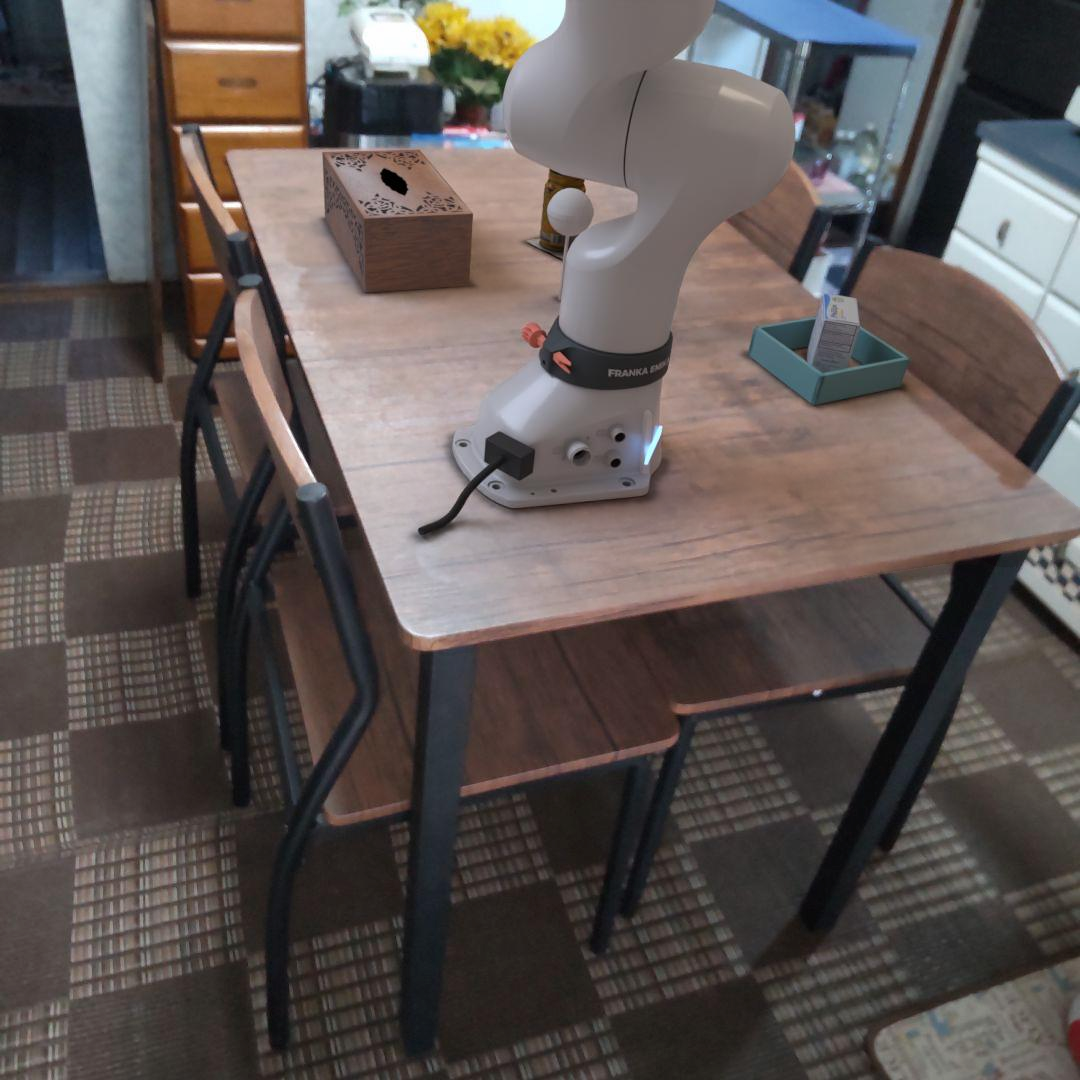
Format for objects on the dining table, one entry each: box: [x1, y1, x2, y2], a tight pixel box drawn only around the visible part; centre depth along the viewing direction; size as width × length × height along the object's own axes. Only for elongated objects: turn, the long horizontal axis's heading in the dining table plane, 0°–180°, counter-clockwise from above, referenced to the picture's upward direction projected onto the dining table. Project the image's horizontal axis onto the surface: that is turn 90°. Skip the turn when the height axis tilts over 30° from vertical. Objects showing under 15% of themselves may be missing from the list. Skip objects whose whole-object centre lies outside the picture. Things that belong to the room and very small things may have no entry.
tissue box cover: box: [321, 149, 474, 294], centre depth 140 cm, size 26×14×10 cm, turn 21°
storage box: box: [747, 315, 911, 406], centre depth 125 cm, size 14×13×4 cm
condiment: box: [526, 168, 587, 260], centre depth 146 cm, size 7×8×12 cm
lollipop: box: [547, 188, 595, 301], centre depth 131 cm, size 6×6×15 cm
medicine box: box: [806, 293, 861, 373], centre depth 124 cm, size 8×4×9 cm, turn 168°
